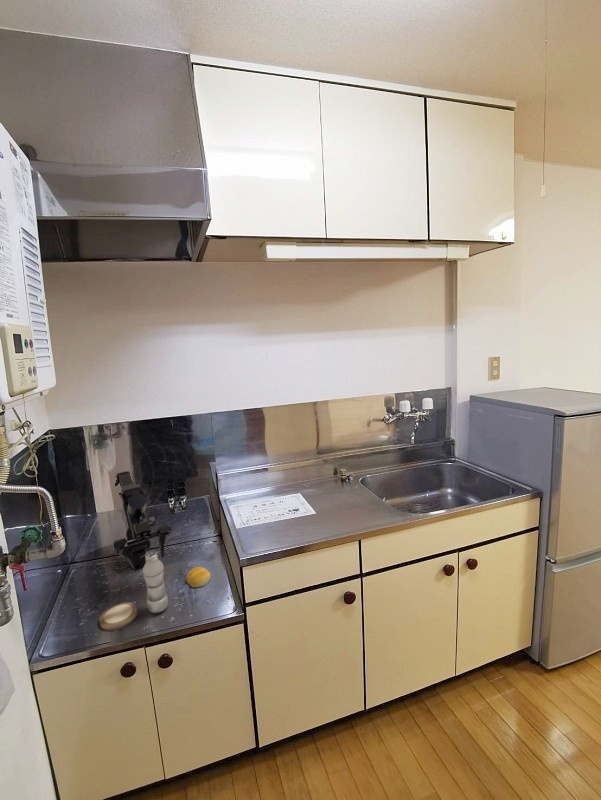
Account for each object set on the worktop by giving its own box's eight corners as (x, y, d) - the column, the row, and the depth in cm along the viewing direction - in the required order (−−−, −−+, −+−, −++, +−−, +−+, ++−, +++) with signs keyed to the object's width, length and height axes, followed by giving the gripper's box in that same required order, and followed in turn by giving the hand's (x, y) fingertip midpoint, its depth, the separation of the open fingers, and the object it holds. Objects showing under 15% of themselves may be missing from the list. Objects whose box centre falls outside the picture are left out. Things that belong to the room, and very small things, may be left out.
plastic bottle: (149, 619, 125) (141, 562, 121) (147, 606, 131) (139, 551, 127) (170, 611, 128) (163, 555, 124) (167, 599, 134) (159, 545, 130)
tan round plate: (94, 619, 126) (93, 615, 126) (127, 600, 134) (126, 596, 134) (109, 636, 119) (108, 631, 119) (143, 614, 127) (142, 610, 127)
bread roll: (194, 591, 137) (193, 581, 136) (183, 580, 144) (182, 570, 143) (215, 580, 142) (214, 571, 142) (203, 570, 149) (202, 560, 148)
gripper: (109, 519, 129) (119, 565, 122) (167, 503, 139) (179, 545, 132) (109, 531, 137) (119, 576, 130) (164, 515, 147) (175, 556, 140)
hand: (148, 562), depth 133 cm, fingers open, 9 cm apart
